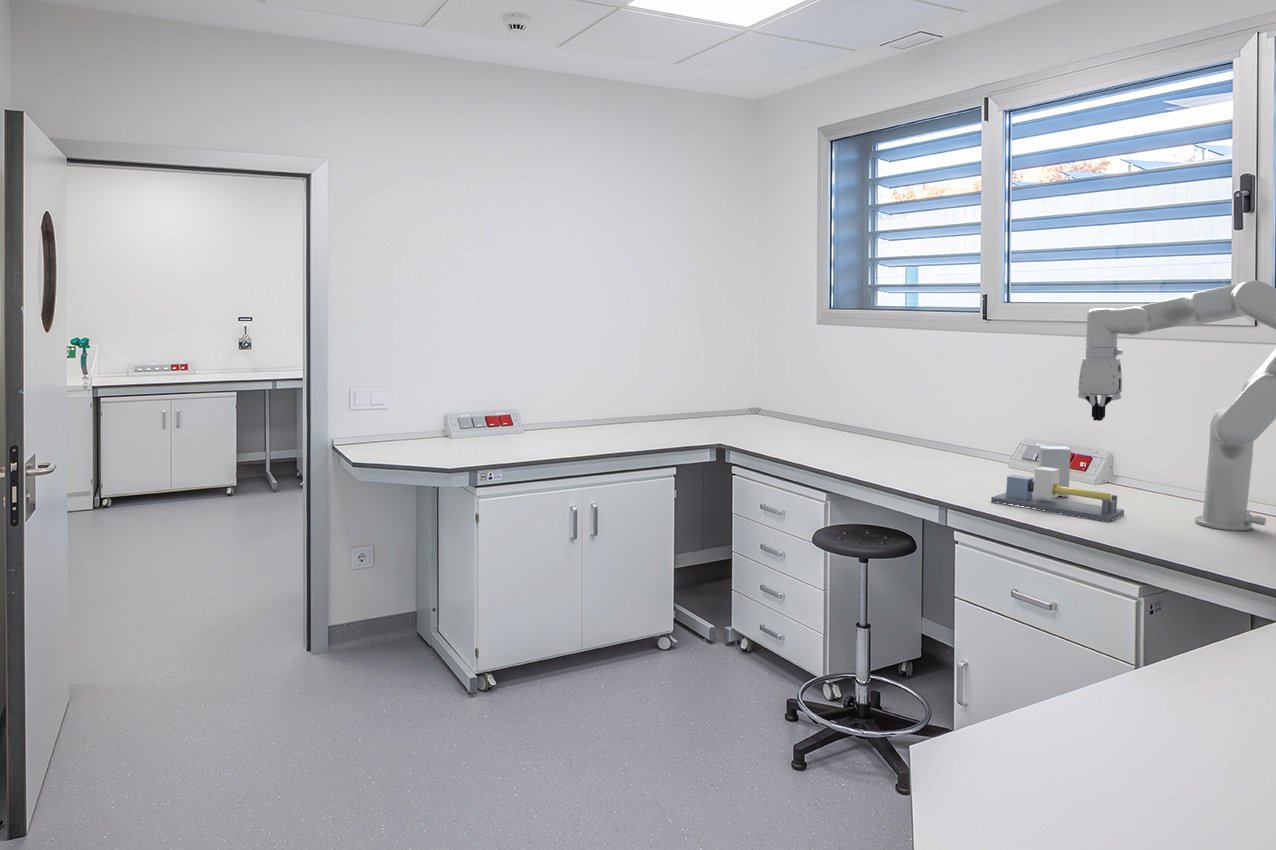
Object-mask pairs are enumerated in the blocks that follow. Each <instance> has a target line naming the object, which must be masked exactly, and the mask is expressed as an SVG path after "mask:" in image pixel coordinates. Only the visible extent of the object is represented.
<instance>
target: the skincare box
mask: <svg viewBox="0 0 1276 850" xmlns="http://www.w3.org/2000/svg"><path fill="white" fill-rule="evenodd" d="M1071 454H1072V449H1070V448H1069V447H1068V446H1067V445H1063V446H1062V445H1060V446H1057V445H1054V446H1053V445H1047V446H1046V445H1039V446H1038V456H1037V457H1038V458H1037V459H1038V461H1037V462H1038V463H1037V468H1039V467H1049V468H1056V469H1060V475H1059V486H1061V487H1068V488H1070V473H1071V471H1070V470H1071V456H1072V455H1071ZM1059 496H1062V498H1064V497H1065V498H1069V495H1067V494H1060V493H1058V497H1059Z"/></svg>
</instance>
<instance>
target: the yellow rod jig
mask: <svg viewBox="0 0 1276 850" xmlns="http://www.w3.org/2000/svg"><path fill="white" fill-rule="evenodd" d="M1033 490H1034V477H1030V476H1024V475H1016V474H1010V475H1008V476H1006V490H1005V492H1002V493H1000V494H997V495H994V496H991V499H990V500H991V501H990V502H991V503H993V502H999V503H1006V504H1013V505H1019V506H1024V507H1030V508H1036V509H1040V510H1045V511H1044V512H1046V511H1049V512H1048V513H1052V512H1055V513H1054V514H1058V513H1062V514H1061V515H1064V514H1067V515H1066V516H1070V515H1074V516H1073V517H1076V516H1080V517H1079V518H1082V517H1087V518H1086V519H1088V518H1093V519H1092V520H1094V519H1099V520H1098V521H1100V520H1104V521H1103V522H1106V521H1110V520H1112V519H1114V520H1116V519H1118V518H1120V517H1122V516H1121V515H1123V516H1124V515H1125V509H1122V508H1118V505H1117V504H1118V495H1115V494H1111V493H1109V492H1100V491H1095V490H1089V489H1088V490H1087V489H1081V488H1074V487H1069V488H1068V487H1061V486H1055V485H1053V492H1054V493H1060V494H1067V495H1068V496H1074V497H1081V498H1088V499H1092V500H1093V499H1094V500H1099V501H1102V502H1101V505H1097V504H1090V503H1085V502H1078V501H1071V500H1066V499H1059V498H1052V499H1048V498H1041V497H1035V496H1033ZM999 503H998V504H999ZM1040 510H1039V511H1040ZM1119 516H1120V517H1119ZM1117 517H1118V518H1117ZM1115 518H1116V519H1115ZM1112 521H1113V520H1112ZM1110 522H1111V521H1110Z"/></svg>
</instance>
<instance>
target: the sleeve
mask: <svg viewBox="0 0 1276 850" xmlns="http://www.w3.org/2000/svg"><path fill="white" fill-rule="evenodd" d="M1059 475H1060V469H1056V468H1049V467H1039V468H1038V467H1036V468H1034V477H1033V478H1034V490H1033V494H1032V495H1033V496H1035V497H1041V498H1048V499H1052V498H1054V499H1056V498H1058V497H1059V496H1058V493H1054V492H1053V485H1055V486H1059Z"/></svg>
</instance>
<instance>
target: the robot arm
mask: <svg viewBox="0 0 1276 850" xmlns="http://www.w3.org/2000/svg"><path fill="white" fill-rule="evenodd" d="M1245 316H1248V317H1249V318H1252V320H1255V321H1257V322H1259V323H1261V324H1263V325H1265V326H1267V327H1269V328H1271V329H1274V330H1275V331H1276V287H1274V286H1272V285H1270V284H1269V283H1268V284H1267V283H1266V282H1263V281H1261V280H1250V281H1249V280H1248V281H1243V282H1239V283H1234V284H1230V285H1224V286H1220V287H1219V286H1218V287H1215V288H1214V287H1213V288H1210V289H1204V290H1200V291H1195V292H1191V293H1186V294H1182V295H1180V296H1178V297H1174V298H1171V299H1166V300H1162V301H1157V302H1153V303H1148V304H1143V305H1135V306H1130V307H1126V308H1112V307H1111V308H1110V307H1108V308H1107V307H1106V308H1102V307H1101V308H1091V309H1089V310H1088V312H1087V316H1086V339H1085V342H1086V343H1085V358H1083V359H1082V361H1081V365H1080V366H1081V367H1080V371H1079V376H1078V387H1077V388H1078V395H1077V397H1078V398H1079V399H1083V400H1086V401H1087V402H1088V403H1089V404H1090V406H1091V417H1092V419H1093V420H1092V421H1098V422H1099V421H1103V420H1104V418H1106V407H1107V405H1108V404H1109V403H1111V401H1117V400H1120V399H1122V396H1121V393H1122V389H1123V377H1122V375H1123V374H1122V373H1123V372H1122V365H1121V360H1120V358H1117V357H1118V356H1119V355H1121V356H1122V355H1123V349H1119V347H1118V335H1119V334H1120V335H1127V336H1128V335H1129V336H1138V335H1141V334H1144V333H1149V332H1153V331H1158V330H1164V329H1169V328H1175V327H1191V326H1199V325H1204V324H1208V323H1213V322H1219V321H1220V322H1221V321H1225V320H1231V319H1235V318H1240V317H1245ZM1098 396H1100V400H1099V398H1098ZM1236 397H1237V396H1236ZM1275 420H1276V348H1275V349H1274V350H1273V351H1272V352H1271V354H1270V355H1269V356H1268V357H1267V359H1265V361H1264V362H1263V363H1262V364H1261V365H1260V366H1259V367H1258V369H1257V370H1256V371H1255V372H1254V373H1253V374H1252V375H1251V376H1250V377H1249V378H1247V380H1246V381H1245V382H1244V384H1243V387H1242V389H1241V393H1240V394H1239V395H1238V397H1237V398H1236V399H1235V400H1234V401H1233V402H1232V403H1231V404H1230V405H1228V406H1227V405H1226V406H1224V407H1222V408H1220V409H1218V410H1217V411H1216V412H1215V413H1214V415H1213V416H1212V418H1211V421H1210V424H1209V425H1210V429H1209V448H1208V460H1207V468H1206V469H1207V470H1206V476H1205V477H1206V479H1205V488H1204V489H1205V490H1204V497H1203V498H1204V499H1203V510H1202V515H1198V516H1196V517H1195V520H1194V522H1195V524H1196V523H1197V524H1198V525H1201V526H1204V527H1207V528H1212V529H1217V530H1225V531H1240V532H1243V531H1250V530H1252V529H1253V524H1256V525H1261V526H1266V524H1267V518H1266V517H1263V516H1259V515H1253V514H1251V510H1250V509H1248V502H1249V492H1250V484H1251V483H1250V482H1251V474H1252V473H1251V472H1252V466H1253V465H1252V464H1253V453H1254V442H1255V441H1256V440H1257V439H1258V438H1259V437H1260V436H1261V435H1262V434H1263V433H1264V432H1265V431H1266V430H1267V428H1269V426H1270V425H1271V424H1273V422H1274V421H1275Z"/></svg>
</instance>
